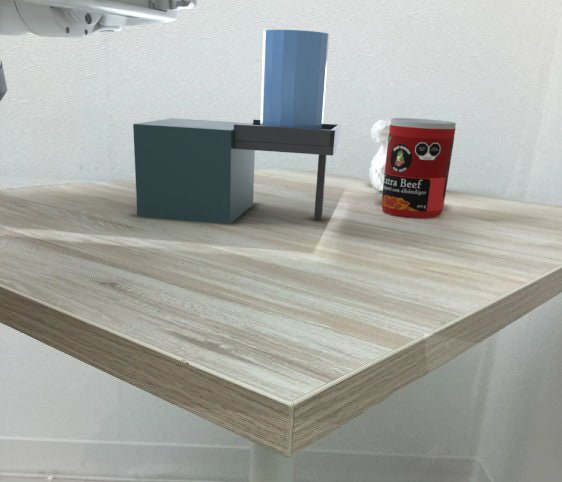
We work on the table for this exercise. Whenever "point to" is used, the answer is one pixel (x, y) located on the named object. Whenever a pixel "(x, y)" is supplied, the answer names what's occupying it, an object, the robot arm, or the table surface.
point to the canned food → (417, 167)
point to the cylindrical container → (293, 78)
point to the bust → (379, 153)
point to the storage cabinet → (215, 165)
